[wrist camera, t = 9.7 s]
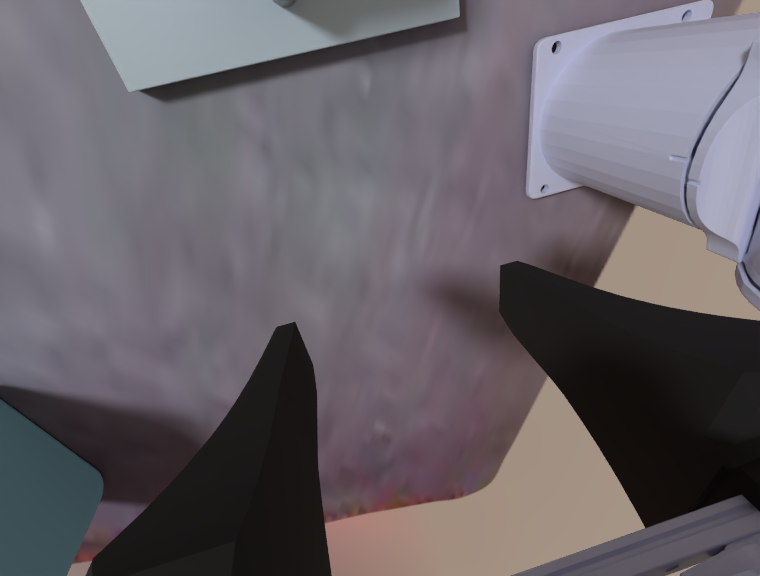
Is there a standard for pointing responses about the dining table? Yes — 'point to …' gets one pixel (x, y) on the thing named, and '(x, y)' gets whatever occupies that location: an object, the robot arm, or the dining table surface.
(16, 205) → the dining table surface
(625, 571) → the robot arm
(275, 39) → the pegged base plate
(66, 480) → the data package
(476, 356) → the dining table surface
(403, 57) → the dining table surface
